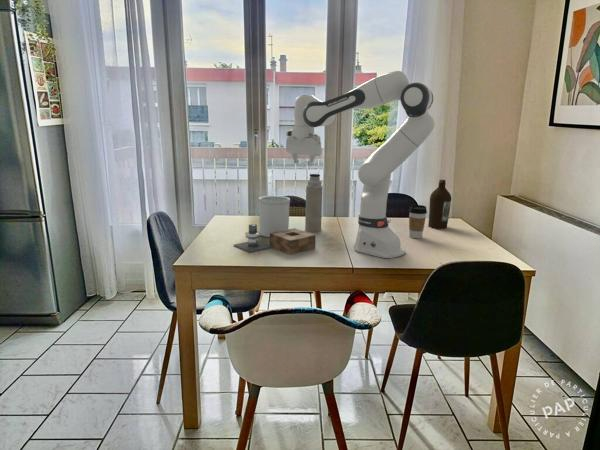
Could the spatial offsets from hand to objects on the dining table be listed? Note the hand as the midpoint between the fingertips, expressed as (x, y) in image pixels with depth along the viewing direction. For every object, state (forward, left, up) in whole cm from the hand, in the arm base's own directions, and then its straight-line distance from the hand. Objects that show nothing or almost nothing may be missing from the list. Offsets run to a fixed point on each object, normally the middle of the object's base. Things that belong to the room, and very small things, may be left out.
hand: (303, 164), depth 193 cm
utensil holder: (+13, +6, -34) cm, 37 cm away
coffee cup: (-32, -45, -34) cm, 65 cm away
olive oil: (-28, -71, -34) cm, 84 cm away
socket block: (-9, +13, -34) cm, 38 cm away
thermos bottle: (+7, -14, -34) cm, 38 cm away
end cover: (+2, +26, -34) cm, 42 cm away
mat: (+2, +26, -34) cm, 43 cm away
